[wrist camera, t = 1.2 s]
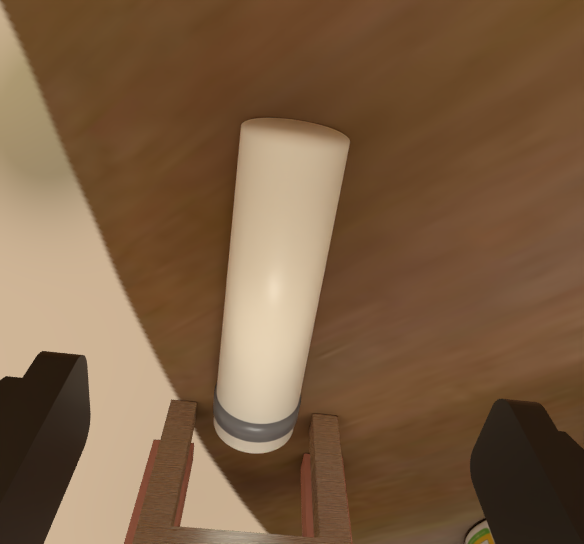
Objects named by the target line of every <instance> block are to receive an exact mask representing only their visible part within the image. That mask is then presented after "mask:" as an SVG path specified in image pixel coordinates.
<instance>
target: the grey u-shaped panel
mask: <svg viewBox="0 0 584 544" xmlns="http://www.w3.org/2000/svg"><path fill="white" fill-rule="evenodd" d="M196 406H197V402H189V401H179V400H171V403H170V407H169V410H168V414H167V418H166V421H165V425H164V429H163V432H162V436H161V440H160V443H159V447H158V451H157V454H156V458H155V462H154V465H153V469H152V473H151V476H150V480H149V484H148V487H147V491H146V495H145V498H144V502H143V506H142V509H141V513H140V517H139V520H138V524H137V528H136V531H135V535H134V539H133V542H132V544H351V535H350V526H349V517H348V508H347V499H346V491H345V482H344V473H343V464H342V455H341V446H340V437H339V428H338V419H337V416H332V415H322V414H313V415H312V419H311V424H310V429H309V444H310V465H311V486H312V508H313V529H314V537H302V536H289V535H277V534H264V533H251V532H239V531H226V530H214V529H202V528H188V527H177V526H174V522H175V518H176V513H177V508H178V503H179V498H180V493H181V489H182V484H183V479H184V474H185V469H186V464H187V459H188V455H189V450H190V445H191V440H192V435H193V430H194V425H195V421H196Z"/></svg>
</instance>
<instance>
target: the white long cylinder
mask: <svg viewBox="0 0 584 544" xmlns="http://www.w3.org/2000/svg"><path fill="white" fill-rule="evenodd" d="M349 145H350V140H349V138H348V137H347V136H346V135H344V134H343V133H341V132H339V131H337V130H335V129H332V128H329V127H326V126H323V125H319V124H316V123H311V122H306V121H301V120H295V119H286V118H255V119H250V120H247V121H244V122H243V123H242V124H241V132H240V143H239V153H238V164H237V175H236V186H235V197H234V207H233V218H232V229H231V240H230V251H229V261H228V272H227V283H226V294H225V305H224V315H223V326H222V337H221V348H220V359H219V369H218V380H217V383H216V386H215V392H214V403H213V413H214V427H215V430H216V432H217V434H218V436H219V437H220V438H221V439H222V440H223V441H224V442H225V443H226V444H228V445H229V446H231V447H232V448H234V449H237V450H239V451H243V452H247V453H266V452H270V451H273V450H276V449H278V448H280V447H281V446H283V445H284V444H285V443H286V442H287V441H288V440H289V439H290V437H291V435H292V433H293V429H294V426H295V424H296V422H297V418H298V413H299V408H300V403H301V388H302V383H303V378H304V373H305V368H306V363H307V358H308V353H309V348H310V343H311V338H312V333H313V328H314V322H315V317H316V312H317V307H318V302H319V297H320V292H321V287H322V282H323V277H324V272H325V267H326V262H327V257H328V252H329V247H330V241H331V236H332V231H333V226H334V221H335V216H336V211H337V206H338V201H339V196H340V191H341V186H342V181H343V176H344V171H345V166H346V160H347V155H348V150H349Z"/></svg>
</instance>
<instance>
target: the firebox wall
mask: <svg viewBox="0 0 584 544" xmlns="http://www.w3.org/2000/svg"><path fill="white" fill-rule="evenodd" d="M159 443H160V440H154V441H153V444H152V448H151V451H150V455H149V458H148V462H147V465H146V469H145V472H144V475H143V479H142V482H141V486H140V489H139V493H138V497H137V500H136V503H135V507H134V510H133V514H132V517H131V521H130V524H129V528H128V531H127V535H126V538H125V542H124V544H132V542H133V539H134V535H135V531H136V528H137V524H138V520H139V517H140V513H141V509H142V506H143V502H144V498H145V495H146V491H147V487H148V484H149V480H150V476H151V473H152V469H153V465H154V462H155V458H156V454H157V451H158V447H159ZM193 450H194V443H191V445H190V450H189V455H188V459H187V464H186V469H185V474H184V479H183V484H182V489H181V493H180V498H179V503H178V508H177V513H176V518H175V522H174V526H177V527H180V522H181V518H182V513H183V508H184V502H185V497H186V492H187V487H188V482H189V477H190V472H191V466H192V461H193ZM342 464H343V457H342ZM343 473H344V466H343ZM344 482H345V475H344ZM345 491H346V483H345ZM346 499H347V492H346ZM301 505H302V537H314V529H313V508H312V486H311V465H310V454H305V453H304V456H303V460H302V465H301ZM347 508H348V501H347ZM348 517H349V510H348ZM349 526H350V519H349ZM350 535H351V527H350ZM351 544H352V536H351Z"/></svg>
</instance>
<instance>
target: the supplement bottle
mask: <svg viewBox="0 0 584 544" xmlns="http://www.w3.org/2000/svg"><path fill="white" fill-rule="evenodd" d="M465 544H495V542H494V539H493V537H492V534H491V531H490V529H489V526H488V523H487V520H486V521H483V522H482V523H480V524H478V525H477V526H475V527H474V528H473V529H472V530H471V531H470V532H469V534H468V535H467V537H466V541H465Z"/></svg>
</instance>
